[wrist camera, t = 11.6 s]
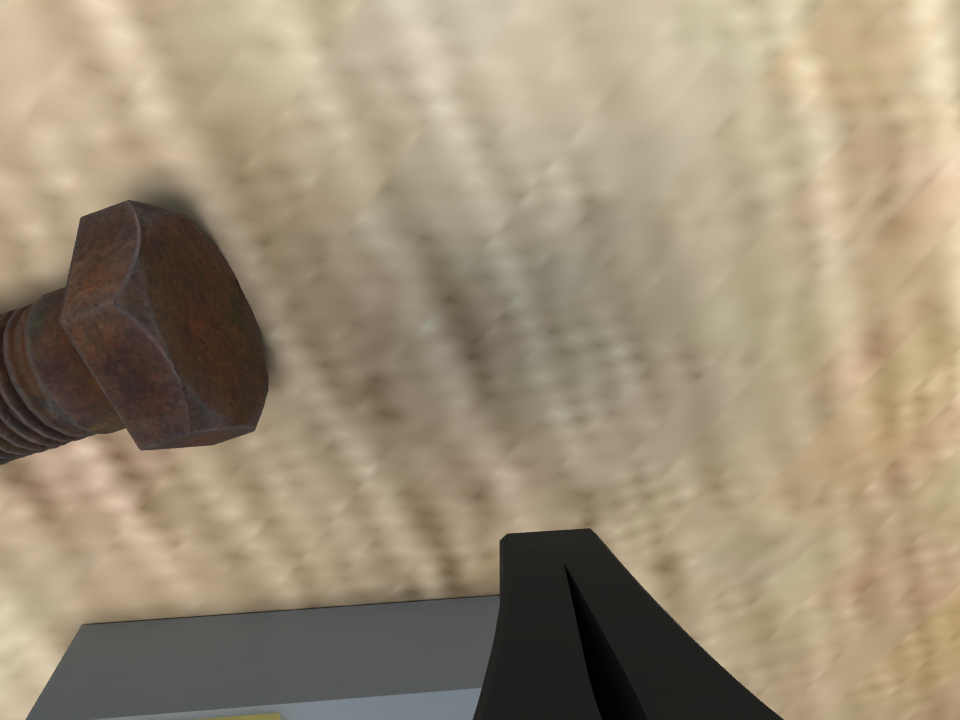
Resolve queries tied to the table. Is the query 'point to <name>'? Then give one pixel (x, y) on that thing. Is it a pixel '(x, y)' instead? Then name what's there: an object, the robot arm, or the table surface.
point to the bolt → (133, 342)
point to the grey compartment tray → (281, 665)
